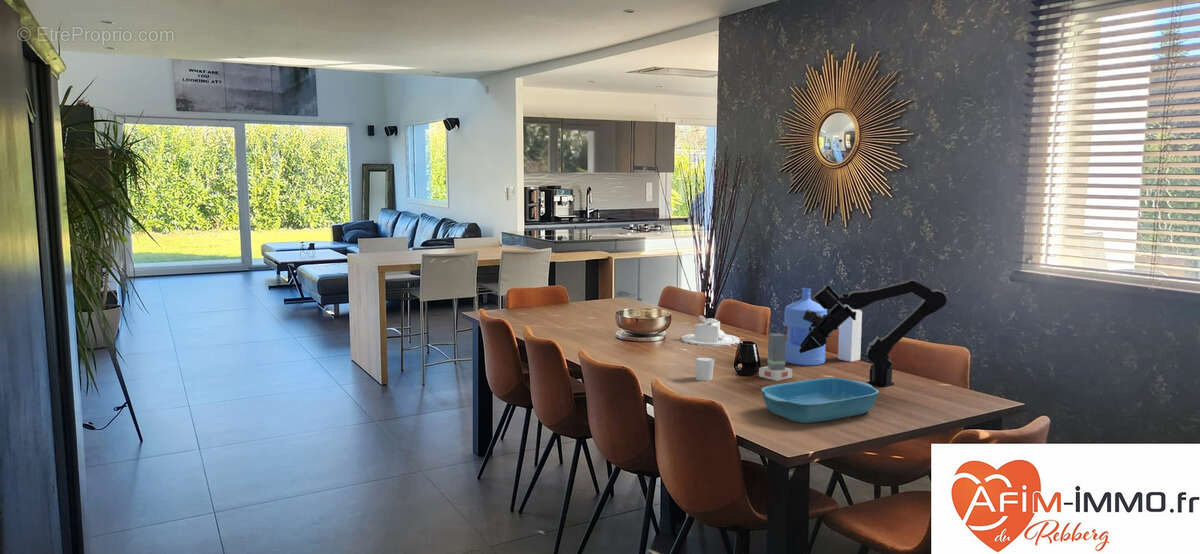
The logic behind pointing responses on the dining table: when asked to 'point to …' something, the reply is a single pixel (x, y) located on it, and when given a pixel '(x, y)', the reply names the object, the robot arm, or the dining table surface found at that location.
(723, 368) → the dining table surface
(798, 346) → the water jug
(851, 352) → the milk
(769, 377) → the white flat box
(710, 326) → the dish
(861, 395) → the casserole dish
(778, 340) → the column
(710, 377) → the white cylinder
